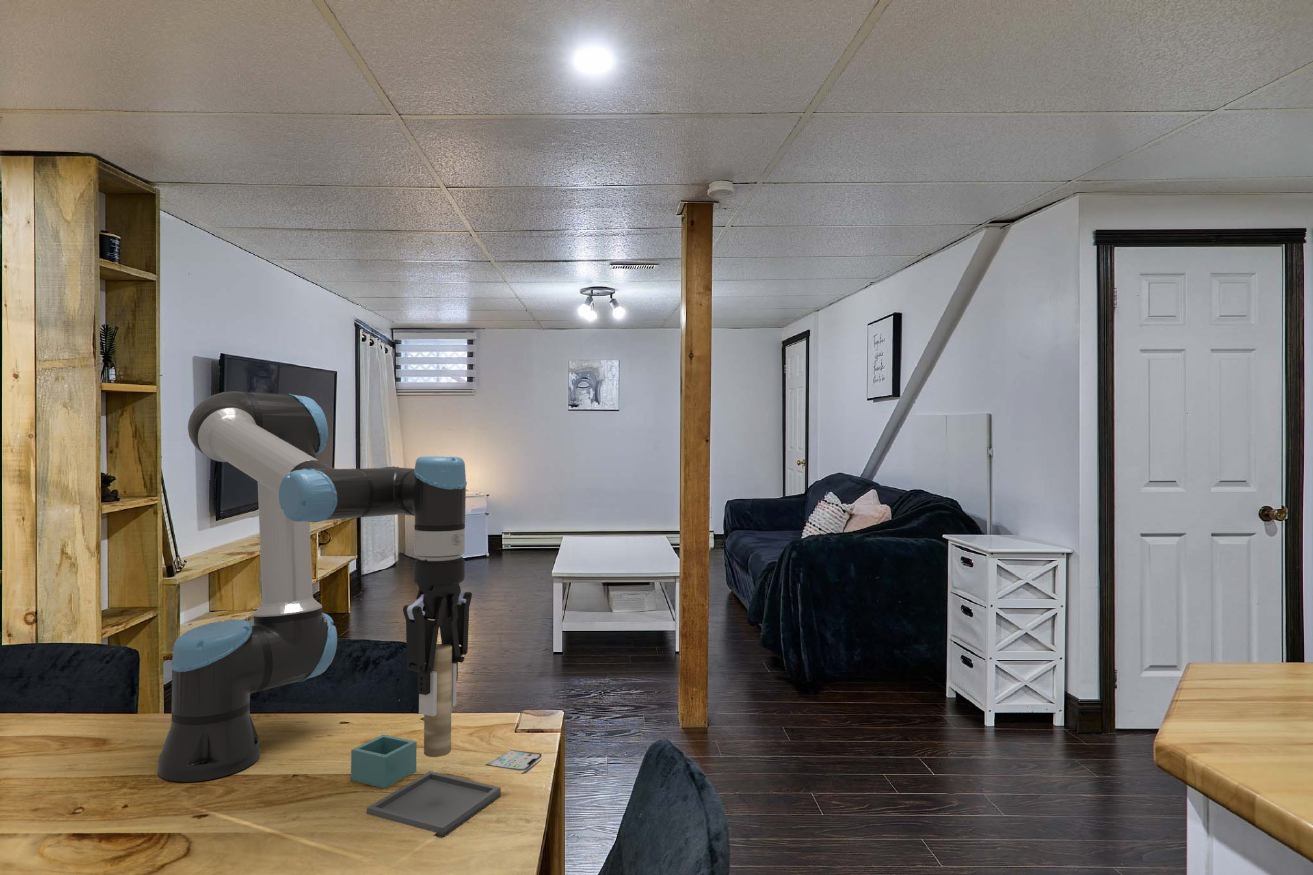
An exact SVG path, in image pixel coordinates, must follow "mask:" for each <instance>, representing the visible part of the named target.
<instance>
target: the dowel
mask: <svg viewBox="0 0 1313 875" xmlns="http://www.w3.org/2000/svg"><path fill="white" fill-rule="evenodd" d="M425 664H426V663H425ZM433 671H437V715H435V716H428V715H423V717H424V719H423V720H424V722H423V755H424V756H426V757H429V758H439V757H444V756H446V755H449V754H450V753H451V752H452V706H451V695H452V646H451V645H449V644H442V643H437V645H436V652H435V659H434V666H433Z"/></svg>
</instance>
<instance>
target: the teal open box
mask: <svg viewBox="0 0 1313 875" xmlns="http://www.w3.org/2000/svg"><path fill="white" fill-rule="evenodd" d="M417 743H418V741H416V740H411V739H406V738H402V737H397V736H393V735H388V734H381V735H379V736H377V737H375V738H372V739H371V740H368V741H367V742H365V743H363V744H361V745H359V746H356V747H354V748H351V749H350V750H351V753H350V754H351V755H350V781H353V782H356V783H361V784H365V785H369V786H373V787H378V788H381V789H387V788H389V787H391V786H393V785H394V784H396V783H397V782H399V781H401V780H403V779H405V778H407V777H408V776H410V775H412V774H413V773H416V772H417V747H418V746H417Z"/></svg>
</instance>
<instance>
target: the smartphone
mask: <svg viewBox="0 0 1313 875" xmlns="http://www.w3.org/2000/svg"><path fill="white" fill-rule="evenodd" d="M541 758H542V754H541V753H540V752H539V753H538V752H531V751H524V750H522V751H521V750H514V749H510V750H509V751H507V752H506V753H504V754H502V755H500V756H497V757H496V758H495V759H492V760H491V761H489V762H488V763H486V764H485V767H486V766H488V767H494V768H500V769H506V770H512V771H520V772H522V773H520V775H524V774H527V773H528V772H530V771H531V770H532V769H533V768H535V766H537V764H539V763H540V762H541V761H542V759H541ZM539 759H540V760H539Z"/></svg>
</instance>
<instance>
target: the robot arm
mask: <svg viewBox="0 0 1313 875" xmlns="http://www.w3.org/2000/svg"><path fill="white" fill-rule="evenodd" d="M328 428H329V427H328V423H327V418H326V415H325V412H324V411H323V408H322V407H321V406H320V405H318V403H317V401H315V400H314V399H312V398H311V397H308V396H304V395H297V394H292V393H287V394H286V393H273V392H272V393H270V392H269V393H268V392H250V391H249V392H248V391H247V392H246V391H237V390H235V391H234V390H233V391H223V392H219V393H216V394H213V395H210V396H208V397H207V398H205V399H203V400H202V401H201V402H199V403H198V404H197V405H196V406H195V407H194V409H193V410H192V412H191V414H190V416H189V419H188V422H187V430H188V431H187V432H188V436H189V439H190V441H191V443H192V444H193V446H194V447H195V448H196V449H197V450H198V451H199V452H200V453H201V454H203V455H204V456H206V457H207V458H209V459H211V460H212V461H216V462H221V463H229V464H230V465H232V466H233V467H235V468H236V469H237V470H239V471H241V472H242V473H244V474H246V475H247V476H249V477H250V478H252V479H253V480H255V481H257V499H258V501H257V502H258V524H259V525H258V527H259V548H260V549H259V550H260V553H259V554H260V555H259V556H260V577H261V578H260V579H261V581H260V583H261V602H262V603H261V605H260V606H259V607H258V608H257V609H256V610H255V611H254V613H253V625H251V623H250V622H249V621H248V620H244V619H228V620H225V621H222V620H220V621H214V622H209V623H206V624H202V625H198V626H196V627H194V628H192V629H189V630H187V631H185V632H184V633H182V634H181V635H180V636H179V637H178V638H177V639H176V640H175V641H174V644H173V651H172V660H171V663H170V668H171V721H170V722H171V723H170V724H171V725H170V727H169V730H168V732H167V736H166V738H165V741H164V744H163V747H162V750H161V753H160V754H159V757H158V761H157V762H158V763H157V764H158V765H157V774H158V775H159V777H160V778H161V779H164V780H166V781H171V782H178V783H179V782H180V783H182V782H183V783H187V782H188V783H191V782H203V781H207V780H208V781H209V780H215V779H218V778H222V777H227V776H229V775H234V774H236V773H238V772H241V771H243V770H245V769H247V768H249V767H250V766H252V765H254V764H255V763H256V762H257V761H258V760H259V759H260V756H261V742H260V741H261V740H260V739H259V737H258V733H257V730H256V727H255V725H254V721H253V718H252V716H251V713H250V712H251V711H250V705H251V704H250V700H251V697H250V696H251V694H253V693H257V692H262V691H265V690H269V689H272V688H276V687H281V686H285V685H288V684H293V683H302V682H304V681H306V680H307V679H311V678H314V677H317V676H320V675H321V674H323V673H324V672H325V671H327V669H328V668H329V667H330V665H331V664H332V662H333V660H334V658H335V655H336V651H337V648H338V633H337V627H336V625H334V623H335V622H334V620H333V618H332V617H331V616H330V615H329V614H327V613H324V612H323V605H322V604H321V603H320V602H318V601H317V600H316V599H315V598H314V594H313V593H314V591H313V590H314V588H313V570H312V569H313V568H312V567H313V566H312V545H311V541H312V540H311V523H320V522H324V521H335V520H346V519H356V518H368V517H370V518H371V517H372V518H373V517H383V516H394V515H397V516H401V515H402V516H403V515H404V516H414V524H413V526H414V528H413V529H414V531H413V532H414V533H413V534H414V535H413V536H414V537H413V554H414V556H416V557H417V558H416V559H415V560H414V561H413V581H414V583H415V584H416V585H417V586H418V592H417V595H416V600H415V601H414V602H413V603H412V604H409V605H408V604H405V605H404V606H403V608H402V612H403V615H404V619H405V628H406V629H405V639H406V642H405V643H406V670H407V671H411V672H412V671H413V672H416V673H417V693H418V694H417V695H418V715H423V716H424V715H428V716H435V715H437V671H433V666H434V659H435V652H436V645H437V644H438V638H439V634H440V641H441V642H440V644H449V645H451V646H452V695H451V708H454V707H455V706H457V681H458V678H459V663H463V662H464V661H465V658H466V657H465V656H466V655H467V654H468V652H469V651H468V650H469V623H470V606H471V601H472V598H473V594H472V592H471V591H463V590H462V588H461V586H460V583H462V582H464V580H465V576H466V575H465V574H466V573H465V572H466V570H465V569H466V568H465V567H466V565H465V564H466V560H465V558H464V557H463V556H462V555H463V554H465V551H466V550H465V544H466V543H465V542H466V541H465V540H466V538H465V530H466V529H465V527H466V496H467V495H466V494H467V493H466V492H467V491H466V490H467V488H466V487H467V484H468V483H467V479H466V478H467V476H466V464H465V461H464V459H463V458H461V457H459V456H437V455H436V456H419V457H417V459H416V460H415V463H414V464H415V466H414V468H411V467H399V466H395V465H394V466H383V467H378V468H377V467H374V468H373V467H372V468H369V467H368V468H334V467H331V466H330V465H328V464H327V463H324V462H322V461H320V460H319V459H317V458H316V456H317V455H319V454H321V453H322V452H323V451H324V449H325V448H326V446H327V444H326V442H327V441H328V438H329V429H328ZM463 655H464V656H463ZM425 663H426V664H425Z"/></svg>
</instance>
